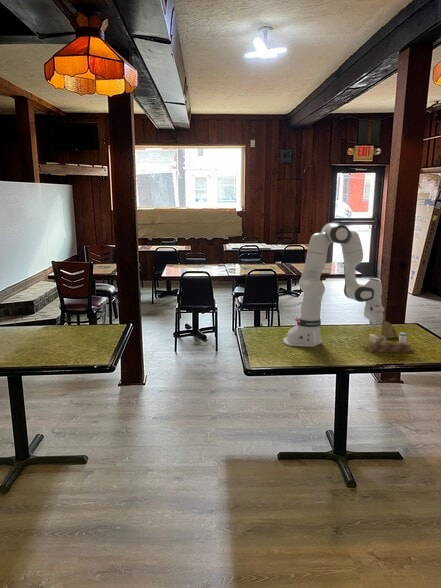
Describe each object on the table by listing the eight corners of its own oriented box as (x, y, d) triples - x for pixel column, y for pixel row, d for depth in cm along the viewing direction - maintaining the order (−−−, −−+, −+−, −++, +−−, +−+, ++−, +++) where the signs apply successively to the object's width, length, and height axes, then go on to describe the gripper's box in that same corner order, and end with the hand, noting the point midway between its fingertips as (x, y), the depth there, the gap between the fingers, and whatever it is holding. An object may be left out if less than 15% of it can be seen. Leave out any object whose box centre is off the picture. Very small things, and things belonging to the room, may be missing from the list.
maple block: (375, 346, 246) (376, 338, 245) (368, 342, 254) (369, 334, 253) (385, 346, 247) (386, 337, 246) (378, 341, 255) (378, 333, 254)
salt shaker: (400, 348, 243) (401, 334, 241) (397, 345, 246) (398, 332, 245) (406, 347, 243) (408, 334, 241) (403, 345, 247) (404, 332, 245)
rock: (396, 331, 267) (379, 328, 269) (400, 322, 260) (383, 319, 263) (396, 345, 260) (379, 342, 262) (400, 337, 254) (382, 333, 256)
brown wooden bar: (370, 352, 236) (371, 345, 235) (368, 350, 239) (369, 343, 238) (410, 351, 237) (410, 344, 236) (407, 349, 240) (408, 342, 239)
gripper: (361, 301, 266) (361, 323, 269) (374, 309, 246) (373, 333, 249) (371, 301, 266) (371, 323, 269) (385, 309, 246) (384, 332, 249)
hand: (372, 328), depth 259 cm, fingers closed
